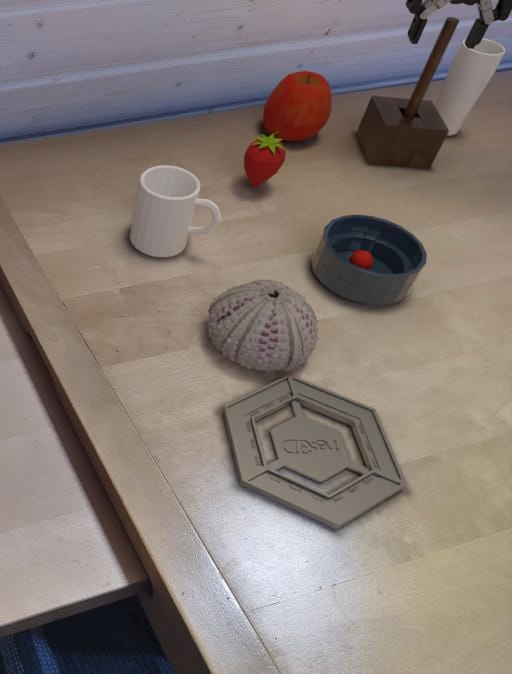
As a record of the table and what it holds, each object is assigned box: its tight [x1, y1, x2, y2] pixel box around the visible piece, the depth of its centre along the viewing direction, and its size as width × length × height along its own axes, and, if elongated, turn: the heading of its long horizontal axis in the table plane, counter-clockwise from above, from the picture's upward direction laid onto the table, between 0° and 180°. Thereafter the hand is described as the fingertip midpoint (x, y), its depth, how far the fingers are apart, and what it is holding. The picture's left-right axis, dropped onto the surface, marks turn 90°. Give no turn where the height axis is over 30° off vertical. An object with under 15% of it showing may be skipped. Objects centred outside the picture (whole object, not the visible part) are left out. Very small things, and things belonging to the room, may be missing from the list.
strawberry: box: [243, 131, 287, 188], centre depth 109 cm, size 6×8×10 cm
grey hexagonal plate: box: [222, 373, 408, 530], centre depth 78 cm, size 17×20×1 cm
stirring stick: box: [402, 16, 460, 117], centre depth 114 cm, size 2×2×22 cm
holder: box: [355, 95, 449, 170], centre depth 119 cm, size 10×10×7 cm
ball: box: [349, 250, 373, 270], centre depth 97 cm, size 3×3×3 cm
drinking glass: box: [434, 37, 506, 137], centre depth 122 cm, size 7×7×15 cm
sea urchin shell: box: [206, 278, 320, 373], centre depth 86 cm, size 13×14×8 cm
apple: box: [262, 70, 333, 143], centre depth 121 cm, size 11×11×11 cm
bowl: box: [310, 214, 428, 306], centre depth 97 cm, size 13×13×6 cm
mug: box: [129, 164, 223, 258], centre depth 98 cm, size 8×12×10 cm
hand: (440, 44), depth 108 cm, fingers open, 8 cm apart
